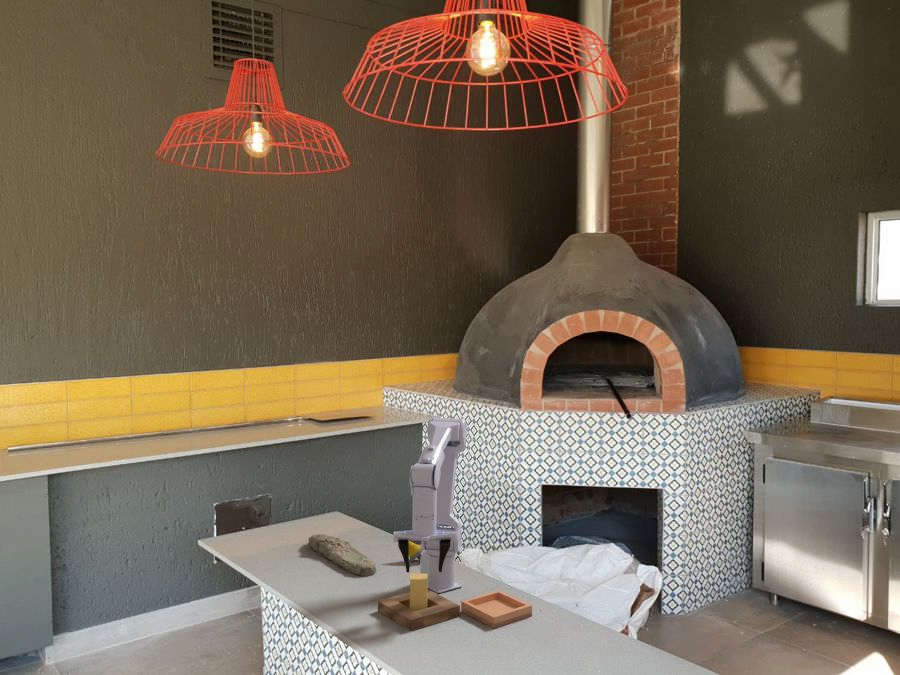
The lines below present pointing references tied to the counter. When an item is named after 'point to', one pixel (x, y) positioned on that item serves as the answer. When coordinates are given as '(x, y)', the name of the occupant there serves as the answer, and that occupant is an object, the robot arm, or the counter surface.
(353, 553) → the long grey stone
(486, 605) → the tray
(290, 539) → the counter surface
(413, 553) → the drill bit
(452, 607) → the socket block
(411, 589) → the peg
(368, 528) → the counter surface
